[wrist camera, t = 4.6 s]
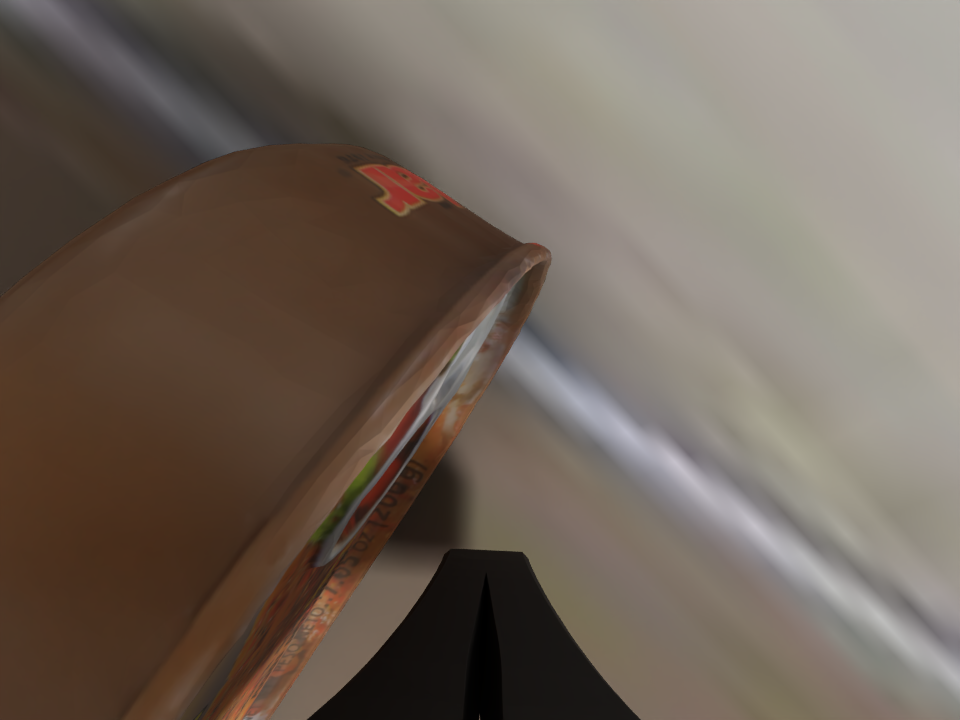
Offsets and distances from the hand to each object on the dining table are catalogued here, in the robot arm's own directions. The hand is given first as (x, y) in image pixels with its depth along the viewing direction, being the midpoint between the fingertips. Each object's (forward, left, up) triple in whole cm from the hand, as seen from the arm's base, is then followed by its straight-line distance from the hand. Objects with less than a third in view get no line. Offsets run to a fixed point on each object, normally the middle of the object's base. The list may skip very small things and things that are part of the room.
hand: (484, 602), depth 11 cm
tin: (0, +4, -2) cm, 4 cm away
